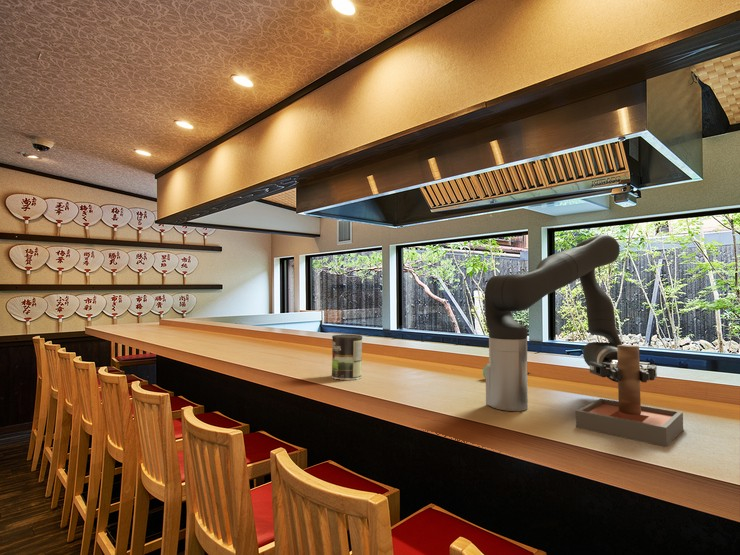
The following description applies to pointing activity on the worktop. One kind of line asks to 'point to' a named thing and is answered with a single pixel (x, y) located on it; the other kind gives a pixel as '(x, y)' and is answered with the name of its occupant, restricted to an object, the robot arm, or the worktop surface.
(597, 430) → the bore box
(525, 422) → the worktop surface
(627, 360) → the dowel
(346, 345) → the coffee can
